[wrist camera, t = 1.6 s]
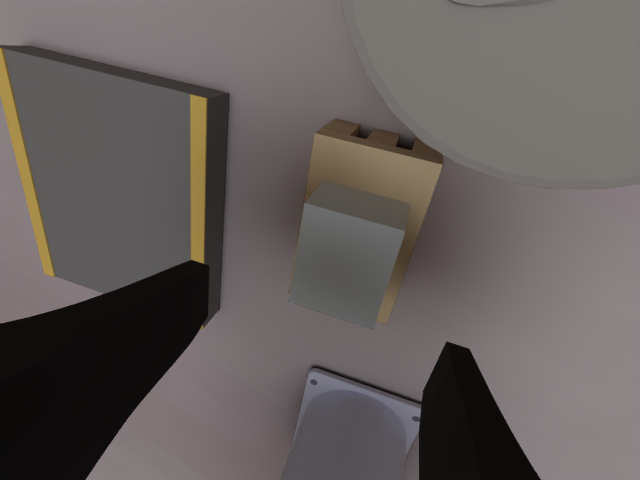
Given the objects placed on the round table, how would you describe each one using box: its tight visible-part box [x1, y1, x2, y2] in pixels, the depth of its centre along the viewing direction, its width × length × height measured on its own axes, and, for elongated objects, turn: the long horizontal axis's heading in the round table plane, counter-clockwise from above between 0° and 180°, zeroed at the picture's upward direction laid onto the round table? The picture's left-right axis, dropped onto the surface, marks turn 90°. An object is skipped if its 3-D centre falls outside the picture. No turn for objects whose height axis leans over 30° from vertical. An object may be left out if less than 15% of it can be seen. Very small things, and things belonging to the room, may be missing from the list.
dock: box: [0, 45, 229, 329], centre depth 22 cm, size 14×12×2 cm
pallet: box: [289, 119, 443, 325], centre depth 17 cm, size 8×5×4 cm, turn 170°
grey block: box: [288, 181, 410, 329], centre depth 15 cm, size 4×4×3 cm
